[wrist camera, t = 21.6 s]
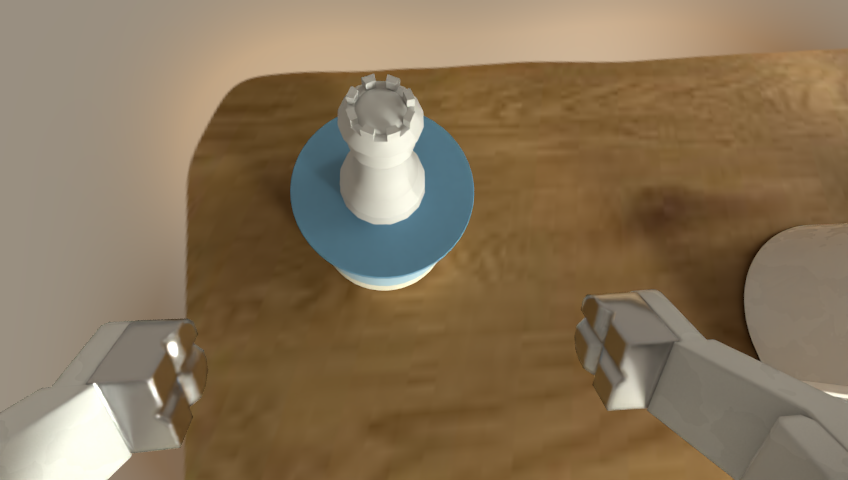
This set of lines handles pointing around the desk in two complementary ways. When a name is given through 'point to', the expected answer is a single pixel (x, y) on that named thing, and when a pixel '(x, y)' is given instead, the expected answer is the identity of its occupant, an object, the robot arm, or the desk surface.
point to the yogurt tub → (382, 243)
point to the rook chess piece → (381, 151)
